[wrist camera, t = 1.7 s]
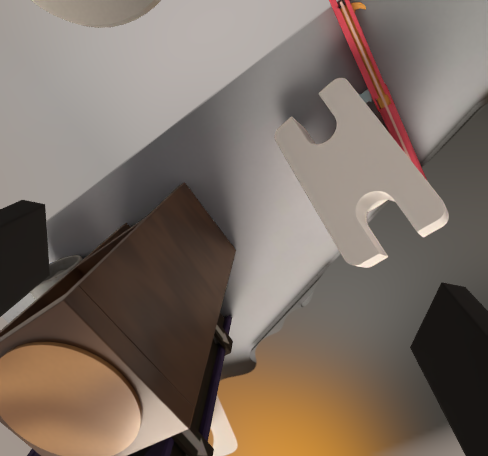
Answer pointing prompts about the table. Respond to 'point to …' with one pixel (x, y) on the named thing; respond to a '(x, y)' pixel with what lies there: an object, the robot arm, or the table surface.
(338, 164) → the white slotted bracket
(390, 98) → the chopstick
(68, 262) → the ceramic mug
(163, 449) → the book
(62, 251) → the table surface
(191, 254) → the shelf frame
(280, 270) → the table surface
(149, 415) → the brown square coaster
